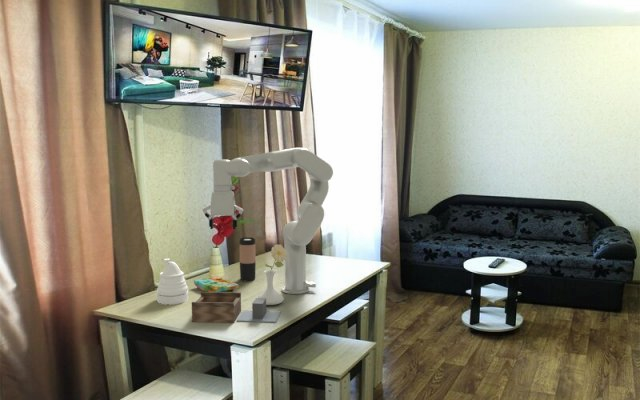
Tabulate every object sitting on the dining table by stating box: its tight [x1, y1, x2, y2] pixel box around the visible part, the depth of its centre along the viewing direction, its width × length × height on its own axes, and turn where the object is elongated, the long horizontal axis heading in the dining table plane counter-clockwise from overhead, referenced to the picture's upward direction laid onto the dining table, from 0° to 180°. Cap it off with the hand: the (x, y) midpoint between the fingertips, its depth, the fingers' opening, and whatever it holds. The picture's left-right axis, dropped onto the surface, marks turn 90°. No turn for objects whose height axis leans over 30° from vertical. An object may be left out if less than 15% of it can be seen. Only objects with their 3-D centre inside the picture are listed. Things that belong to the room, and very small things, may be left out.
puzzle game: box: [193, 275, 240, 292], centre depth 256 cm, size 12×5×20 cm
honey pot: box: [156, 258, 189, 305], centre depth 241 cm, size 13×13×18 cm
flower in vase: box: [256, 243, 287, 306], centre depth 236 cm, size 13×11×25 cm
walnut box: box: [191, 291, 242, 324], centre depth 220 cm, size 16×14×8 cm
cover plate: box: [236, 297, 282, 324], centre depth 220 cm, size 15×12×7 cm
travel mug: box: [239, 236, 257, 282], centre depth 274 cm, size 8×8×20 cm
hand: (223, 228), depth 241 cm, fingers open, 9 cm apart
